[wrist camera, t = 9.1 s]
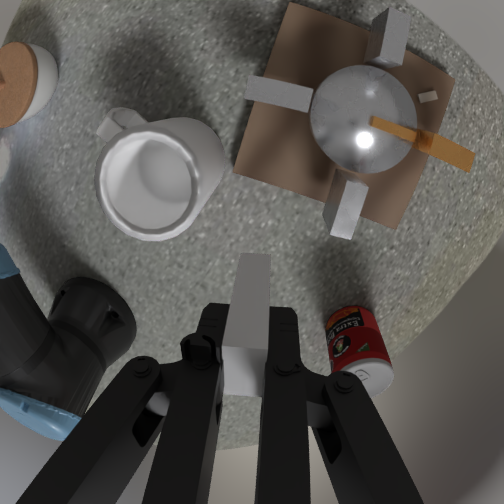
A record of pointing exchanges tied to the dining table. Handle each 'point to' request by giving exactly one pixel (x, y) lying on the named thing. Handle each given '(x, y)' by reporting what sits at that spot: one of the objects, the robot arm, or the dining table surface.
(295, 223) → the dining table surface
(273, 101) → the silver spoked hub
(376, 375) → the canned food
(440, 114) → the wooden base plate
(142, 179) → the mug
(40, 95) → the lidded jar
